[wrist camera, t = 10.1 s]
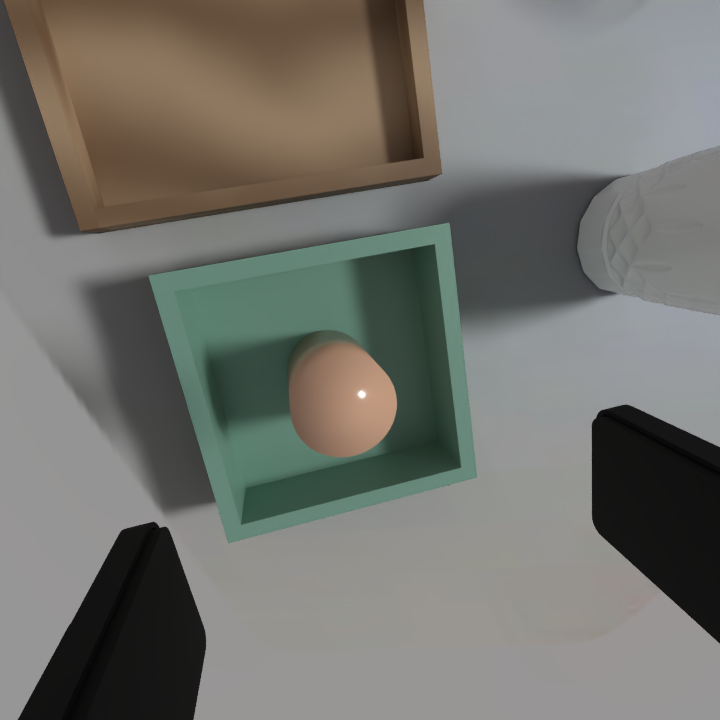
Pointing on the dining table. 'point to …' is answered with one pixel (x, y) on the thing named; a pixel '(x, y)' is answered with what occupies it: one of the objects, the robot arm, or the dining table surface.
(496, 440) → the dining table surface
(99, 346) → the dining table surface
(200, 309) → the bin
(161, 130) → the tray
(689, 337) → the dining table surface
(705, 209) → the white cup
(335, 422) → the brown smooth lump
